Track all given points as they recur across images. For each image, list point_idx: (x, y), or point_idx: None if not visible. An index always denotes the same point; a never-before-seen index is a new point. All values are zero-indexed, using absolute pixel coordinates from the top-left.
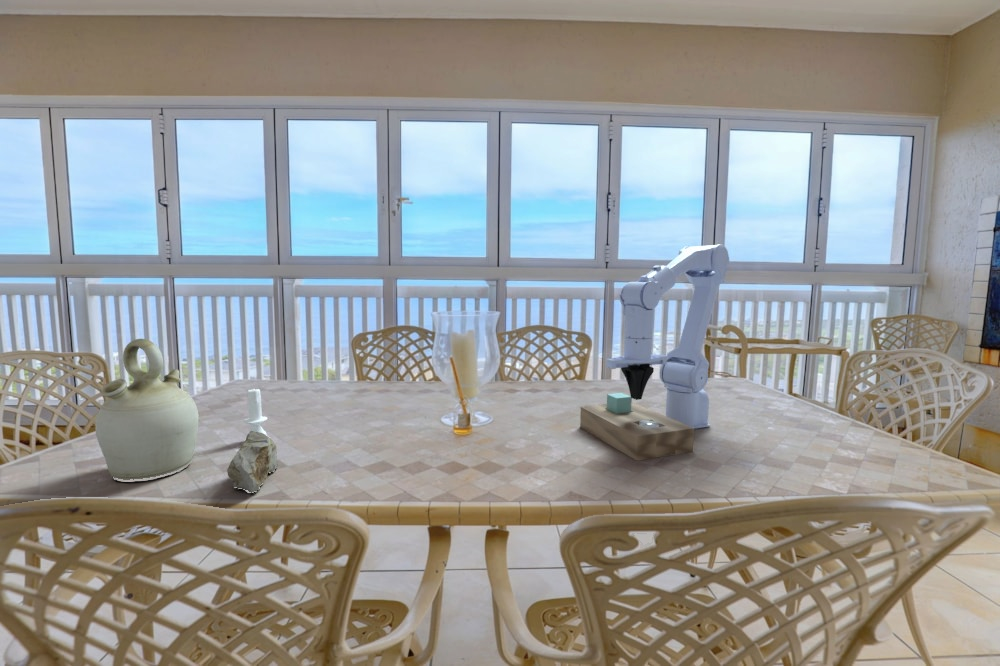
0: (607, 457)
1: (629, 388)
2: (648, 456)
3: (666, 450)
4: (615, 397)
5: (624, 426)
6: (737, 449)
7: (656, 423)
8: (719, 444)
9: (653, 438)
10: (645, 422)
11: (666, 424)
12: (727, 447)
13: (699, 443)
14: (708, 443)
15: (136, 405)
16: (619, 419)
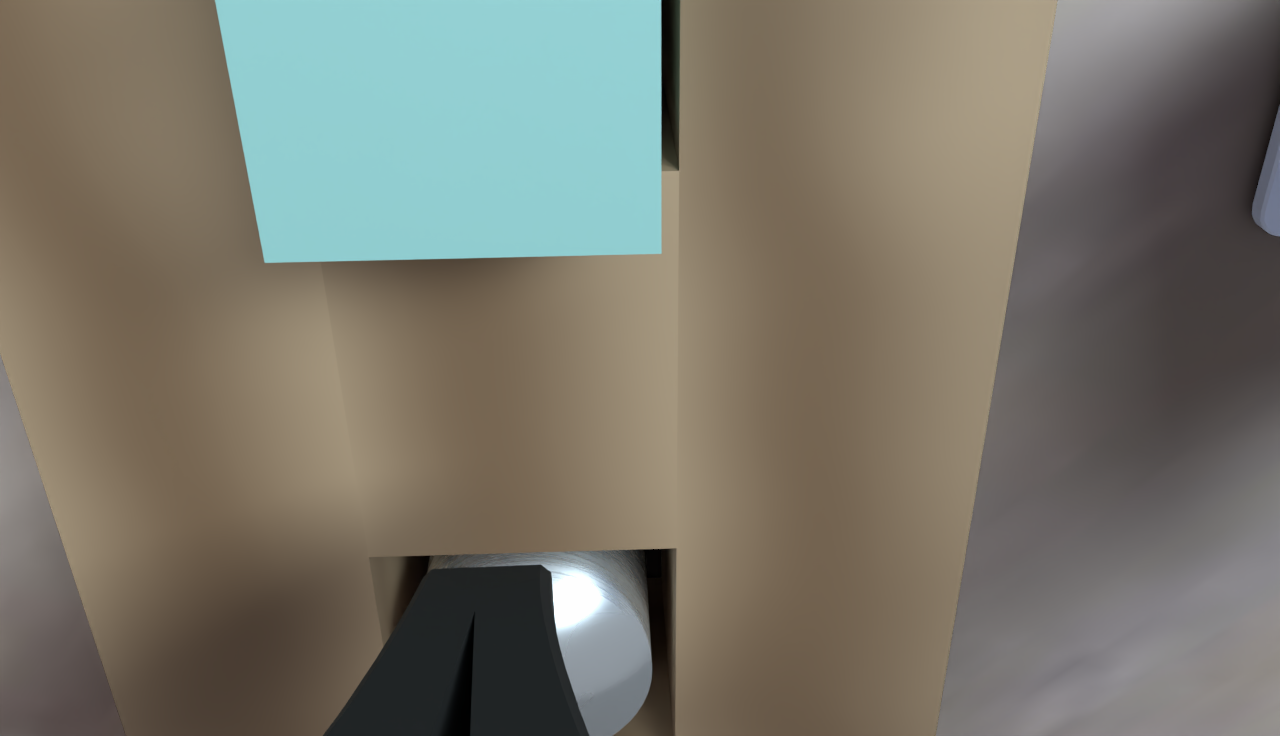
0: (9, 581)
1: (359, 699)
2: None
3: None
4: (267, 186)
5: (173, 658)
6: (1249, 730)
7: (615, 701)
8: (1235, 619)
9: None
10: None
11: (722, 728)
12: (1223, 683)
13: (1094, 555)
14: (1170, 576)
15: None
16: (232, 430)
